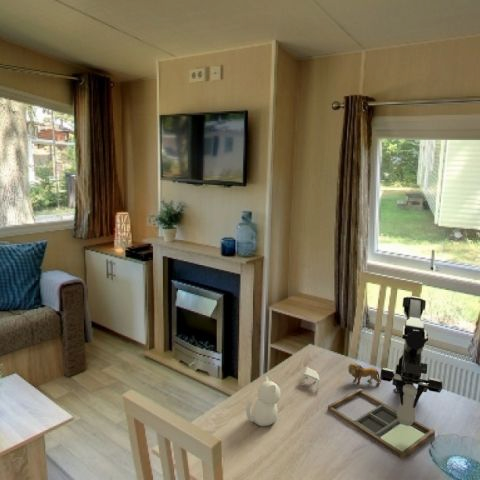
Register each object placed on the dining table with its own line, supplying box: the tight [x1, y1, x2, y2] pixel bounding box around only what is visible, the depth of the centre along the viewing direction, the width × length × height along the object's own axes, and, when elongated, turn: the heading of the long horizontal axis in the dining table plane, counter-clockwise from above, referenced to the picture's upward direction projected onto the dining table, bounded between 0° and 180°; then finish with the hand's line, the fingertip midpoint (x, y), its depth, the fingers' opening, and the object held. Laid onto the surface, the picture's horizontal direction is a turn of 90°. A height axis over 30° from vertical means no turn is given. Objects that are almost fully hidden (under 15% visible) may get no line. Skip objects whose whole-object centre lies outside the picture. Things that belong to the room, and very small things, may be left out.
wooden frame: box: [327, 388, 436, 461], centre depth 139 cm, size 19×30×2 cm, turn 37°
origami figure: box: [299, 366, 321, 392], centre depth 161 cm, size 12×8×5 cm
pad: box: [379, 423, 426, 452], centre depth 132 cm, size 14×8×1 cm, turn 127°
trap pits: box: [353, 404, 400, 438], centre depth 139 cm, size 17×9×2 cm, turn 127°
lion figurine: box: [347, 362, 382, 386], centre depth 163 cm, size 15×5×9 cm, turn 97°
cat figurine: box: [245, 375, 282, 427], centre depth 137 cm, size 9×12×15 cm
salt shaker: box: [397, 384, 417, 426], centre depth 129 cm, size 6×6×13 cm
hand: (408, 406), depth 128 cm, fingers closed on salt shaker, 3 cm apart
